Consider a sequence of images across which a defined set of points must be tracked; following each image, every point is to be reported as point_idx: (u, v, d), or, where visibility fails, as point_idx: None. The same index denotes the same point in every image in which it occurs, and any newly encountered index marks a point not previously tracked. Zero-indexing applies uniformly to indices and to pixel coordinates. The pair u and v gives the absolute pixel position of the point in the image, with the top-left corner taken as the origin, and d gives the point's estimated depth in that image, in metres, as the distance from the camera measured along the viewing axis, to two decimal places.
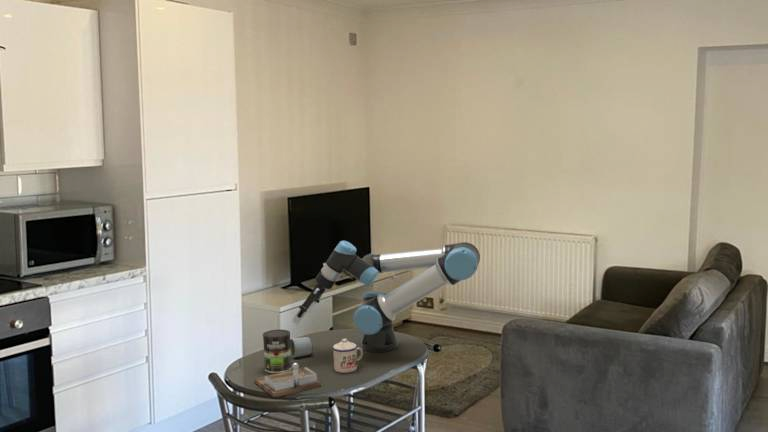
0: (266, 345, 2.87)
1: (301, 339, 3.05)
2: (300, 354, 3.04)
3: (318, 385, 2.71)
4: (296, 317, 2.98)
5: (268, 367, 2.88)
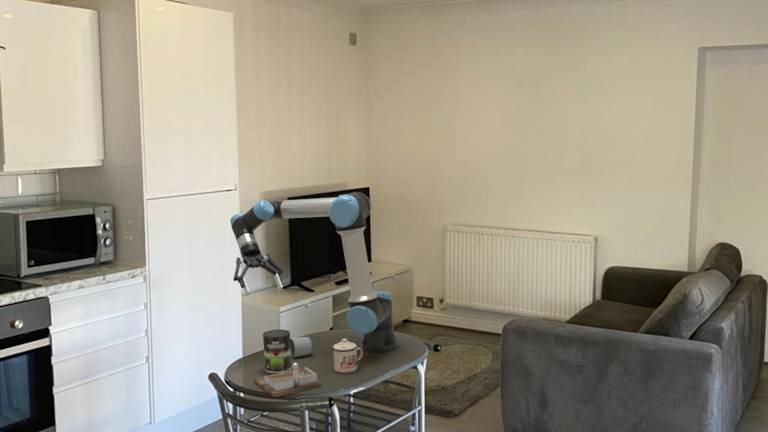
0: (266, 345, 2.87)
1: (301, 339, 3.05)
2: (300, 354, 3.04)
3: (318, 385, 2.71)
4: (245, 289, 2.95)
5: (268, 367, 2.88)
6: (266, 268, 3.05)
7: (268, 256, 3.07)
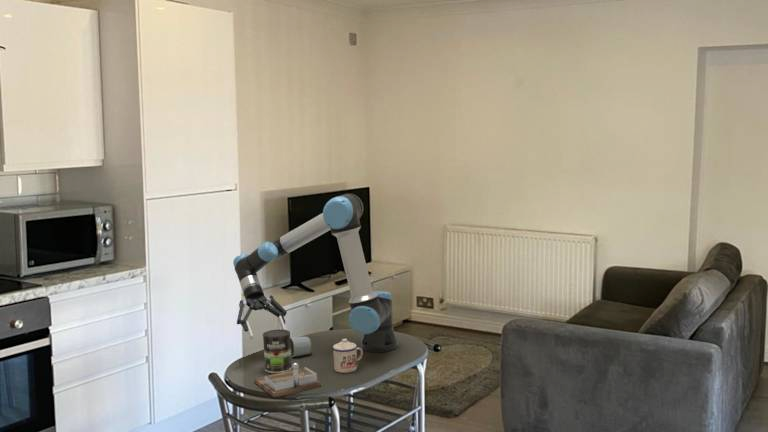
0: (266, 345, 2.87)
1: (300, 338, 3.06)
2: (299, 353, 3.04)
3: (318, 385, 2.71)
4: (248, 333, 2.94)
5: (268, 367, 2.88)
6: (269, 310, 3.04)
7: (271, 298, 3.06)
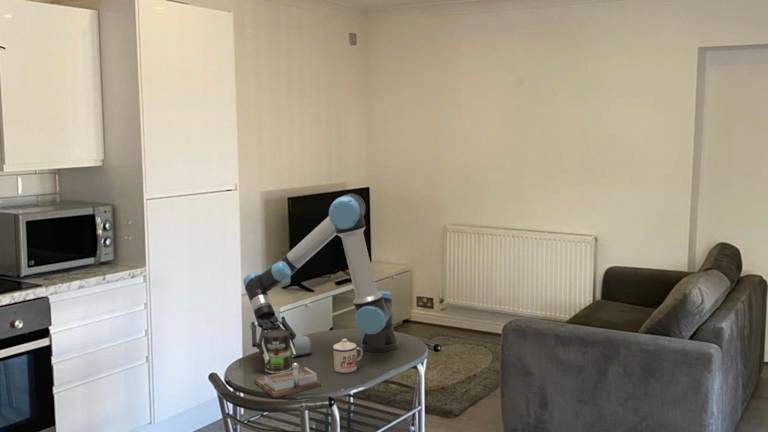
0: (266, 345, 2.87)
1: (299, 338, 3.06)
2: (298, 353, 3.05)
3: (318, 385, 2.71)
4: (264, 356, 2.88)
5: (268, 367, 2.88)
6: None
7: (283, 319, 2.99)
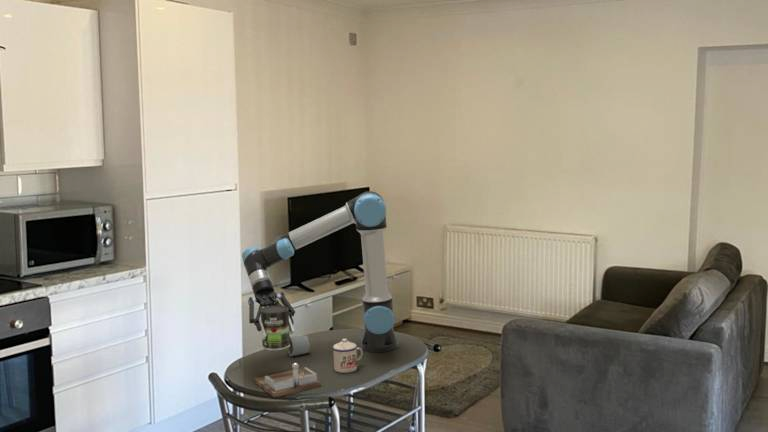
0: (264, 321, 2.77)
1: (299, 338, 3.07)
2: (298, 352, 3.06)
3: (318, 385, 2.71)
4: (261, 333, 2.78)
5: (265, 344, 2.78)
6: None
7: (282, 295, 2.89)
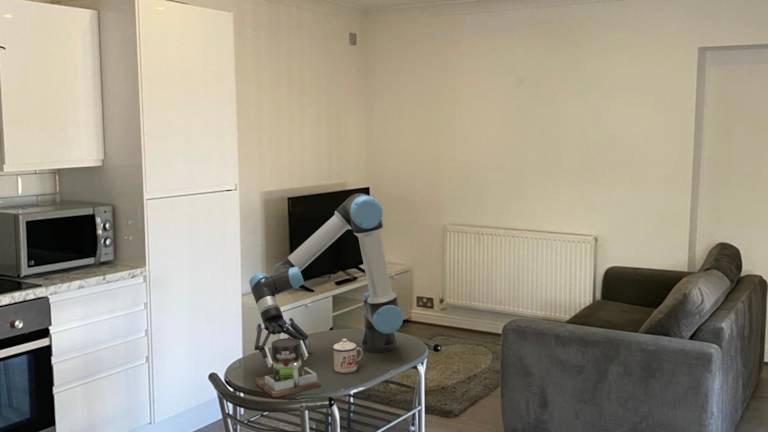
0: (275, 355, 2.70)
1: None
2: None
3: (318, 385, 2.71)
4: (267, 360, 2.70)
5: (277, 378, 2.71)
6: (289, 334, 2.79)
7: (291, 321, 2.82)
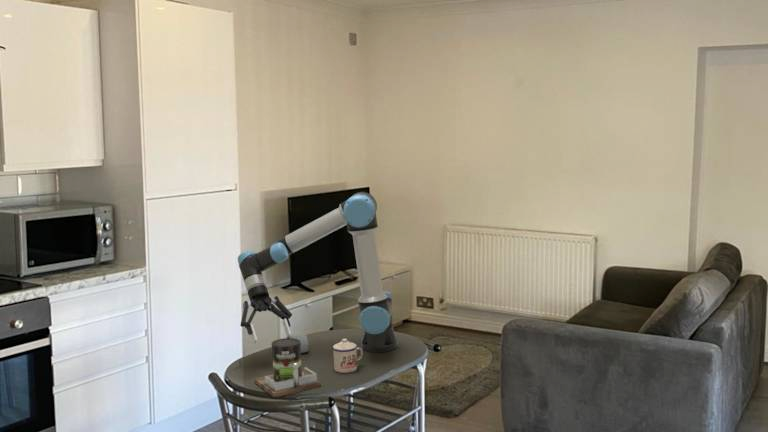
0: (275, 355, 2.70)
1: (298, 337, 3.09)
2: None
3: (318, 385, 2.71)
4: (252, 336, 2.84)
5: (277, 378, 2.71)
6: (274, 312, 2.93)
7: (276, 299, 2.95)
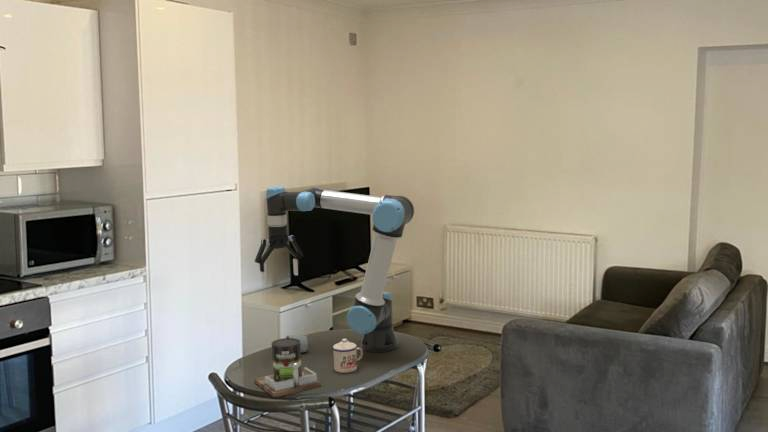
0: (275, 355, 2.70)
1: (297, 336, 3.09)
2: None
3: (318, 385, 2.71)
4: (263, 273, 3.07)
5: (277, 378, 2.71)
6: (288, 250, 3.11)
7: (293, 239, 3.10)
